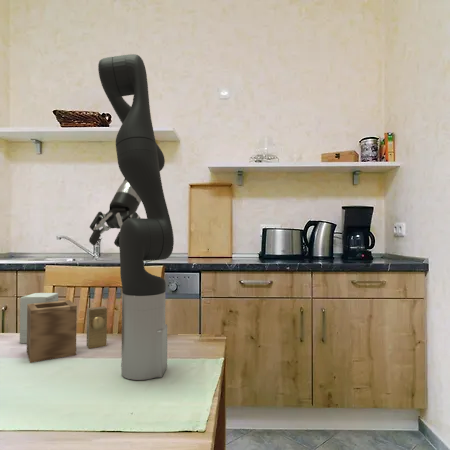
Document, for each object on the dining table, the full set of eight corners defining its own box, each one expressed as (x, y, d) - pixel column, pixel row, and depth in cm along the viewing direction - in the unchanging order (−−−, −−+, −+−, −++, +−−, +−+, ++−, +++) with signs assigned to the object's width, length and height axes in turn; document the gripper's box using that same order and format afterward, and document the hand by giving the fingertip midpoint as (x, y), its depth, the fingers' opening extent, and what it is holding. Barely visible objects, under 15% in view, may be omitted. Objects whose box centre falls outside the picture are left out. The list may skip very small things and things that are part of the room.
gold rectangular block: (103, 343, 99) (104, 306, 99) (106, 345, 97) (106, 308, 97) (86, 346, 97) (86, 308, 97) (88, 348, 94) (89, 310, 94)
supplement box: (46, 344, 98) (46, 297, 98) (18, 343, 98) (19, 296, 99) (58, 336, 106) (59, 292, 106) (33, 335, 106) (33, 292, 106)
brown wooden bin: (69, 345, 97) (69, 300, 97) (76, 354, 90) (76, 305, 90) (26, 351, 92) (27, 304, 92) (30, 362, 84) (30, 310, 84)
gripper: (101, 190, 108) (76, 235, 99) (141, 190, 103) (118, 237, 94) (114, 206, 114) (91, 250, 105) (153, 207, 108) (132, 253, 100)
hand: (104, 244), depth 100 cm, fingers open, 8 cm apart
